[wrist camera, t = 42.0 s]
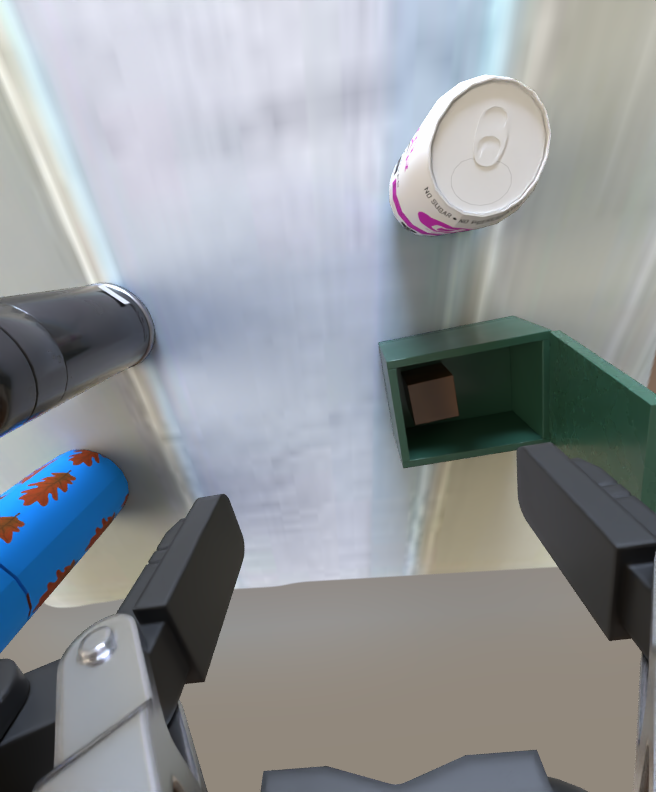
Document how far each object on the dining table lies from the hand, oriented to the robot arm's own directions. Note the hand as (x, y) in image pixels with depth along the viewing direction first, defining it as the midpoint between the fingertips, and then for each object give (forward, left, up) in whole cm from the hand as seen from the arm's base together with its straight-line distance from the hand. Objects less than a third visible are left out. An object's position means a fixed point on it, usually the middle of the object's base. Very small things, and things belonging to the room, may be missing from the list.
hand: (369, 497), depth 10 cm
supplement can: (+10, +10, -32) cm, 35 cm away
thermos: (-38, -15, -32) cm, 52 cm away
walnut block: (+7, -10, -31) cm, 33 cm away
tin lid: (+15, -10, -16) cm, 24 cm away
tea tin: (+10, -10, -32) cm, 35 cm away
